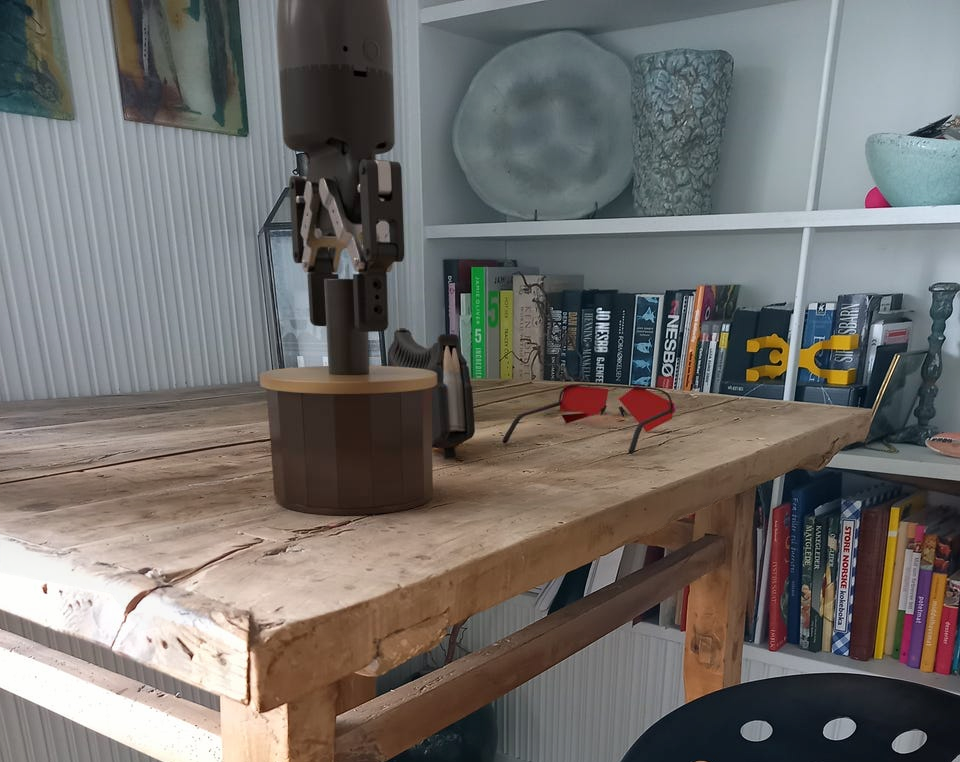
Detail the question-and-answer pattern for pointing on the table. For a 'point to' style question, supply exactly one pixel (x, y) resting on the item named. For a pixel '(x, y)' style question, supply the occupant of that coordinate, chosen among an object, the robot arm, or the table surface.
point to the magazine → (441, 386)
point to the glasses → (593, 401)
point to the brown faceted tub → (351, 451)
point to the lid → (346, 358)
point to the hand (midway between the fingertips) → (347, 328)
